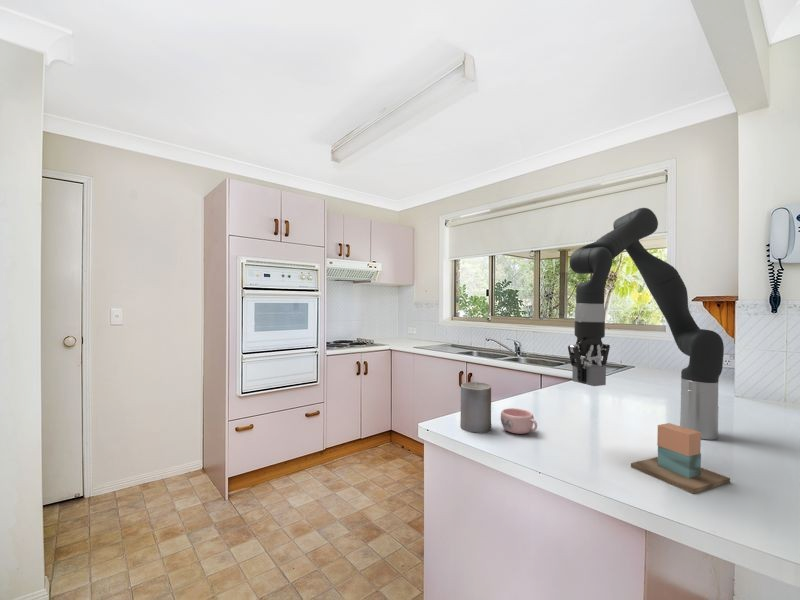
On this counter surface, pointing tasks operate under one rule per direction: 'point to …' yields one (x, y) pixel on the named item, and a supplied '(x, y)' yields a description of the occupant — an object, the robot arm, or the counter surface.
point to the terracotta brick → (679, 439)
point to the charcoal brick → (592, 375)
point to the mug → (517, 420)
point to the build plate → (679, 479)
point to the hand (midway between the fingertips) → (588, 381)
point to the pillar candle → (475, 407)
